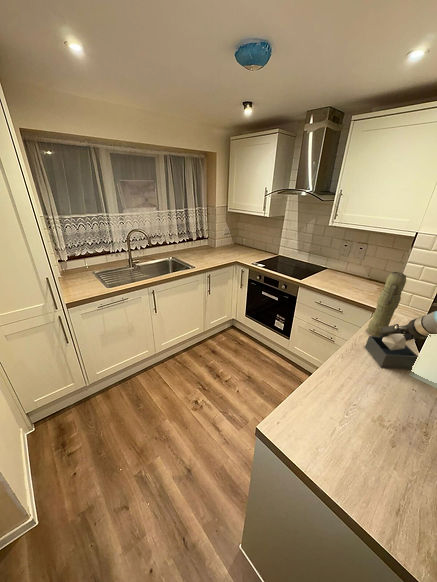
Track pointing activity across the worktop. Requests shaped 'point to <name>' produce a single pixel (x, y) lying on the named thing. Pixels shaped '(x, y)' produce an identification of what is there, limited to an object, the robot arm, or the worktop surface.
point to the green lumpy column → (387, 303)
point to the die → (394, 341)
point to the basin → (390, 354)
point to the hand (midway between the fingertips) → (391, 336)
